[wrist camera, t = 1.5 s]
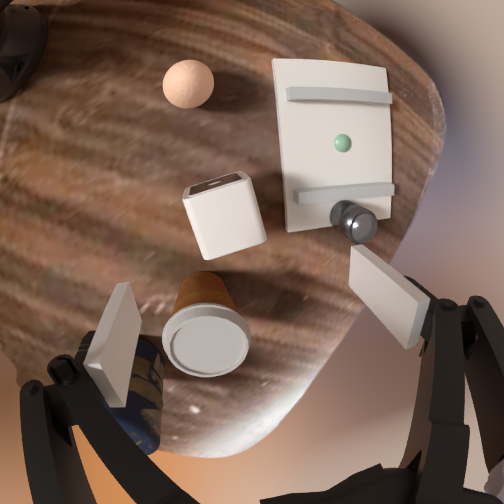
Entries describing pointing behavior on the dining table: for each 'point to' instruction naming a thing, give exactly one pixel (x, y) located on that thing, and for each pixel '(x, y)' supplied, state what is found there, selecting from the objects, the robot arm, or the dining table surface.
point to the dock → (332, 139)
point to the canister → (143, 399)
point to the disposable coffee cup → (205, 328)
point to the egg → (188, 84)
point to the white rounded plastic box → (224, 215)
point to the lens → (353, 221)
